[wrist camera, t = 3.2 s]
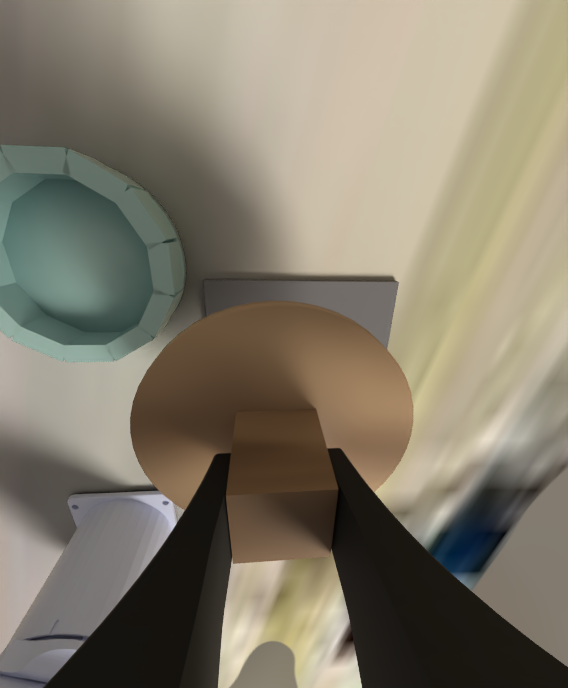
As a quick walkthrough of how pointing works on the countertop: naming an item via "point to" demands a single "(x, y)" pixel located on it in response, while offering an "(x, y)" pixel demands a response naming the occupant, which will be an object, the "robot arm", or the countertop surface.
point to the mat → (313, 298)
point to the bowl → (82, 256)
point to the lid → (272, 419)
